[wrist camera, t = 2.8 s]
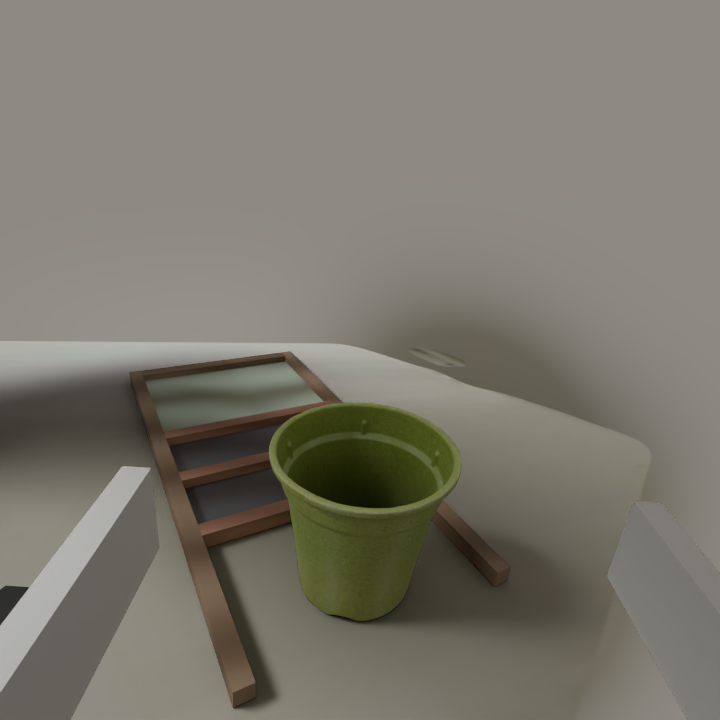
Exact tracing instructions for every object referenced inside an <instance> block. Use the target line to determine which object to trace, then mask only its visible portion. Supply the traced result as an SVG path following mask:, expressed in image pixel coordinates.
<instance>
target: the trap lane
mask: <svg viewBox="0 0 720 720" xmlns="http://www.w3.org/2000/svg"><path fill="white" fill-rule="evenodd" d="M130 379H131V384H132V387H133V391H134V394H135V397H136V400H137V403H138V406H139V410H140V413H141V416H142V419H143V422H144V426H145V429H146V432H147V435H148V438H149V442H150V445H151V448H152V451H153V454H154V458H155V461H156V464H157V467H158V470H159V473H160V477H161V480H162V483H163V486H164V489H165V493H166V496H167V499H168V502H169V505H170V509H171V512H172V515H173V518H174V521H175V525H176V528H177V531H178V534H179V537H180V540H181V544H182V547H183V550H184V553H185V556H186V560H187V563H188V566H189V569H190V572H191V576H192V579H193V582H194V585H195V588H196V592H197V595H198V598H199V601H200V604H201V607H202V611H203V614H204V617H205V620H206V623H207V627H208V630H209V633H210V636H211V639H212V643H213V646H214V649H215V652H216V655H217V658H218V662H219V665H220V668H221V671H222V674H223V678H224V681H225V684H226V687H227V690H228V694H229V697H230V700H231V703H232V706H233V708H234V707H236V706H239V705H241V704H243V703H245V702H247V701H249V700H251V699H254V698H256V682H255V679H254V676H253V673H252V671H251V668H250V665H249V662H248V660H247V657H246V654H245V652H244V649H243V646H242V643H241V641H240V638H239V635H238V633H237V630H236V627H235V624H234V622H233V619H232V616H231V613H230V611H229V608H228V605H227V603H226V600H225V597H224V594H223V592H222V589H221V586H220V584H219V581H218V578H217V575H216V573H215V570H214V567H213V565H212V562H211V559H210V556H209V554H208V551H207V547H210V546H214V545H217V544H220V543H223V542H227V541H230V540H233V539H237V538H240V537H243V536H246V535H250V534H253V533H256V532H260V531H263V530H266V529H269V528H273V527H276V526H279V525H283V524H286V523H289V522H292V521H291V515H290V508H289V501H288V498H287V497H286V495H285V492H284V490H283V487H282V484H281V482H280V481H279V480H278V478H277V477H276V475H275V474H274V472H273V470H272V467H271V464H270V458H269V446H270V442H271V440H272V437H273V435H274V434H275V432H276V431H277V430H278V429H279V428H280V427H281V426H282V425H283V424H284V423H285V422H286V421H287V420H289V419H290V418H292V417H293V416H296V415H298V414H300V413H302V412H304V411H306V410H309V409H312V408H316V407H321V406H324V405H329V404H336V403H343V402H342V401H341V400H339V399H338V398H337V397H336V396H335V395H334V394H333V393H332V392H331V391H330V390H329V389H328V388H327V387H326V386H325V385H324V384H323V383H322V382H321V381H320V380H319V379H318V378H317V377H316V376H315V375H314V374H313V373H312V372H311V371H310V370H309V369H308V368H307V367H306V366H305V365H304V364H303V363H302V362H301V361H300V360H299V359H298V358H297V357H296V356H295V355H294V354H293V353H291V352H282V353H275V354H267V355H259V356H252V357H244V358H236V359H229V360H221V361H213V362H206V363H198V364H191V365H183V366H175V367H168V368H160V369H152V370H145V371H137V372H130ZM431 520H432V521H433V522H434V523H435V524H436V525H437V526H438V527H439V528H440V529H441V530H442V531H443V532H444V533H445V534H446V535H447V537H448V538H449V539H450V540H451V541H452V542H453V543H454V544H455V545H456V546H457V547H458V548H459V549H460V550H461V551H462V552H463V553H464V555H465V556H466V557H467V558H468V559H469V560H470V561H471V562H472V563H473V564H474V565H475V566H476V567H477V568H478V569H479V570H480V571H481V572H482V574H483V575H484V576H485V577H486V578H487V579H488V580H489V581H490V582H491V583H492V584H493V585H494V586H496V585H498V584H500V583H502V582H504V581H507V579H508V576H509V572H510V568H511V567H510V566H509V565H508V564H507V563H506V562H505V561H504V560H503V559H502V558H501V557H500V556H499V555H498V554H497V553H496V552H495V551H494V550H493V549H492V548H491V547H490V546H489V545H488V544H487V543H486V542H485V541H484V540H482V539H481V538H480V537H479V536H478V535H477V534H476V533H475V532H474V531H473V530H472V529H471V528H470V527H469V526H468V525H467V524H466V523H465V522H464V521H463V520H462V519H461V518H460V517H459V516H458V515H457V514H456V513H455V512H454V511H453V510H452V509H451V508H450V507H449V506H448V505H447V504H446V503H445V502H444V501H442V503H441V505H440V506H439V508H438V509H437V511H436V512H435V513H434V514H433V517H432V519H431Z"/></svg>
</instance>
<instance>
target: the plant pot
mask: <svg viewBox="0 0 720 720" xmlns="http://www.w3.org/2000/svg"><path fill="white" fill-rule="evenodd" d="M269 458H270V464H271V467H272V470H273V472H274V474H275V475H276V477H277V478H278V480H279V481H280V482H281V484H282V487H283V490H284V492H285V495H286V497H287V498H288V501H289V508H290V515H291V521H292V528H293V534H294V541H295V548H296V556H297V564H298V569H299V575H300V581H301V585H302V588H303V591H304V593H305V594H306V596H307V598H308V599H309V600H310V601H311V602H312V603H313V604H314V605H315V606H316V607H317V608H318V609H320V610H321V611H323V612H324V613H326V614H329V615H339V616H344V617H348V618H351V619H353V620H356V621H366V620H371V619H375V618H378V617H381V616H383V615H385V614H387V613H388V612H390V611H391V610H393V609H394V608H395V607H396V606H397V605H398V604H399V603H400V602H401V601H402V599H403V598H404V596H405V594H406V591H407V589H408V586H409V583H410V580H411V576H412V573H413V571H414V568H415V565H416V562H417V559H418V556H419V553H420V551H421V548H422V545H423V542H424V539H425V536H426V534H427V531H428V528H429V525H430V522H431V519H432V517H433V514H434V513H435V512H436V511H437V509H438V508H439V506H440V505H441V503H442V501H443V499H444V498H445V497H446V496H448V494H449V493H450V492H451V491H452V490H453V488H454V487H455V485H456V484H457V481H458V479H459V476H460V472H461V457H460V453H459V451H458V449H457V447H456V445H455V443H454V442H453V441H452V440H451V438H450V437H449V436H448V435H447V434H446V433H445V432H444V431H443V430H442V429H440V428H439V427H437V426H436V425H434V424H433V423H431V422H430V421H428V420H426V419H424V418H422V417H420V416H418V415H416V414H413V413H410V412H407V411H404V410H402V409H399V408H394V407H390V406H385V405H379V404H373V403H336V404H329V405H324V406H321V407H316V408H312V409H309V410H306V411H304V412H302V413H300V414H298V415H296V416H293V417H292V418H290V419H289V420H287V421H286V422H285V423H284V424H283V425H282V426H281V427H280V428H279V429H278V430H277V431H276V432H275V434H274V435H273V437H272V440H271V442H270V446H269Z"/></svg>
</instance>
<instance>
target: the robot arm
mask: <svg viewBox="0 0 720 720" xmlns="http://www.w3.org/2000/svg"><path fill="white" fill-rule="evenodd" d="M158 549H159V539H158V530H157V520H156V510H155V501H154V491H153V481H152V472H151V468H145V467H130V466H122V467H121V468H120V470H119V471H118V472H117V474H116V475H115V476H114V478H113V479H112V480H111V481H110V483H109V484H108V485H107V487H106V488H105V489H104V491H103V492H102V493H101V495H100V496H99V497H98V498H97V500H96V501H95V502H94V504H93V505H92V506H91V508H90V509H89V510H88V512H87V513H86V514H85V515H84V517H83V518H82V519H81V521H80V522H79V523H78V525H77V526H76V527H75V529H74V530H73V531H72V532H71V534H70V535H69V536H68V538H67V539H66V540H65V542H64V543H63V544H62V546H61V547H60V548H59V549H58V551H57V552H56V553H55V555H54V556H53V557H52V559H51V560H50V561H49V563H48V564H47V565H46V566H45V568H44V569H43V570H42V572H41V573H40V574H39V576H38V577H37V578H36V579H35V581H34V582H33V583H32V585H31V586H30V587H17V586H5V587H3V588H2V589H1V590H0V720H70V719H71V717H72V716H73V714H74V712H75V710H76V708H77V706H78V704H79V702H80V700H81V698H82V696H83V694H84V692H85V690H86V688H87V687H88V685H89V683H90V681H91V679H92V677H93V675H94V673H95V671H96V669H97V667H98V665H99V663H100V661H101V659H102V657H103V656H104V654H105V652H106V650H107V648H108V646H109V644H110V642H111V640H112V638H113V636H114V634H115V632H116V630H117V628H118V627H119V625H120V623H121V621H122V619H123V617H124V615H125V613H126V611H127V609H128V607H129V605H130V603H131V601H132V599H133V597H134V596H135V594H136V592H137V590H138V588H139V586H140V584H141V582H142V580H143V578H144V576H145V574H146V572H147V570H148V568H149V566H150V565H151V563H152V561H153V559H154V557H155V555H156V553H157V551H158ZM607 578H608V580H609V581H610V583H611V585H612V587H613V588H614V590H615V592H616V594H617V596H618V597H619V599H620V601H621V603H622V604H623V606H624V608H625V610H626V611H627V613H628V615H629V617H630V618H631V620H632V622H633V624H634V626H635V627H636V629H637V631H638V633H639V635H640V636H641V638H642V640H643V642H644V643H645V645H646V647H647V649H648V650H649V652H650V654H651V656H652V658H653V659H654V661H655V663H656V665H657V666H658V668H659V670H660V672H661V674H662V675H663V677H664V679H665V681H666V683H667V684H668V686H669V688H670V690H671V691H672V693H673V695H674V697H675V699H676V700H677V702H678V704H679V706H680V707H681V709H682V711H683V713H684V715H685V716H686V718H687V720H720V573H719V571H718V570H717V569H716V568H715V567H714V566H713V564H712V563H711V562H710V561H709V559H708V558H707V557H706V556H705V555H704V553H703V552H702V551H701V550H700V549H699V548H698V546H697V545H696V544H695V543H694V542H693V540H692V539H691V538H690V537H689V536H688V534H687V533H686V532H685V531H684V530H683V528H682V527H681V526H680V525H679V524H678V523H677V521H676V520H675V519H674V518H673V516H672V515H671V514H670V513H669V512H668V510H667V509H666V508H665V507H664V506H663V505H662V503H656V502H642V501H633V504H632V507H631V510H630V513H629V516H628V518H627V521H626V524H625V527H624V530H623V533H622V535H621V538H620V541H619V544H618V547H617V550H616V552H615V555H614V558H613V561H612V564H611V567H610V569H609V572H608V575H607Z"/></svg>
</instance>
